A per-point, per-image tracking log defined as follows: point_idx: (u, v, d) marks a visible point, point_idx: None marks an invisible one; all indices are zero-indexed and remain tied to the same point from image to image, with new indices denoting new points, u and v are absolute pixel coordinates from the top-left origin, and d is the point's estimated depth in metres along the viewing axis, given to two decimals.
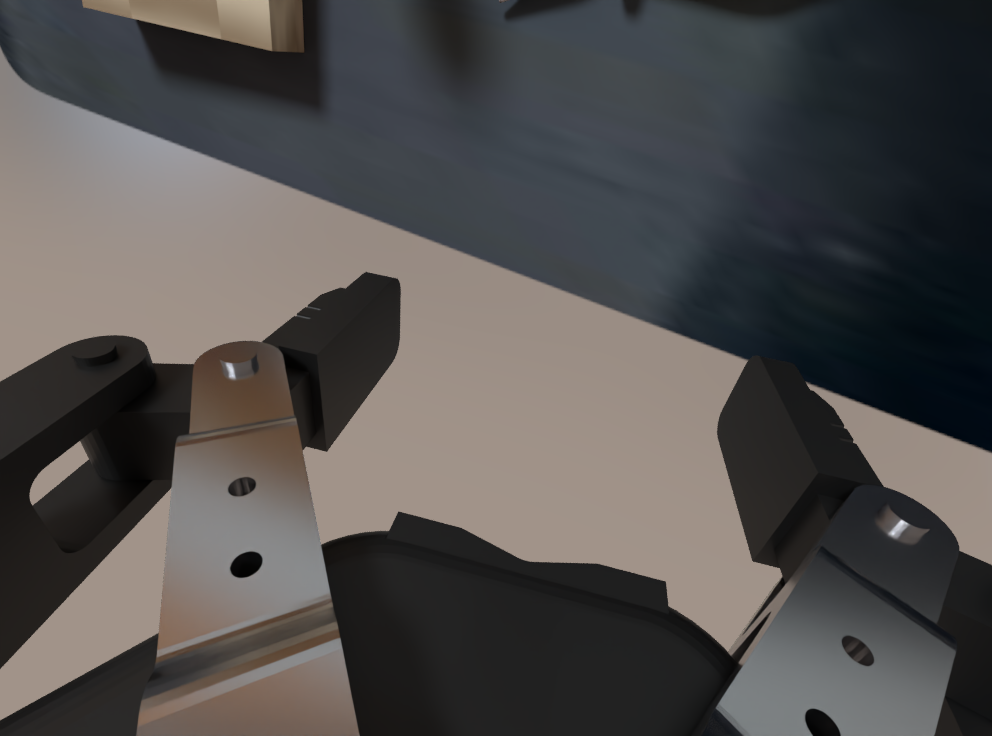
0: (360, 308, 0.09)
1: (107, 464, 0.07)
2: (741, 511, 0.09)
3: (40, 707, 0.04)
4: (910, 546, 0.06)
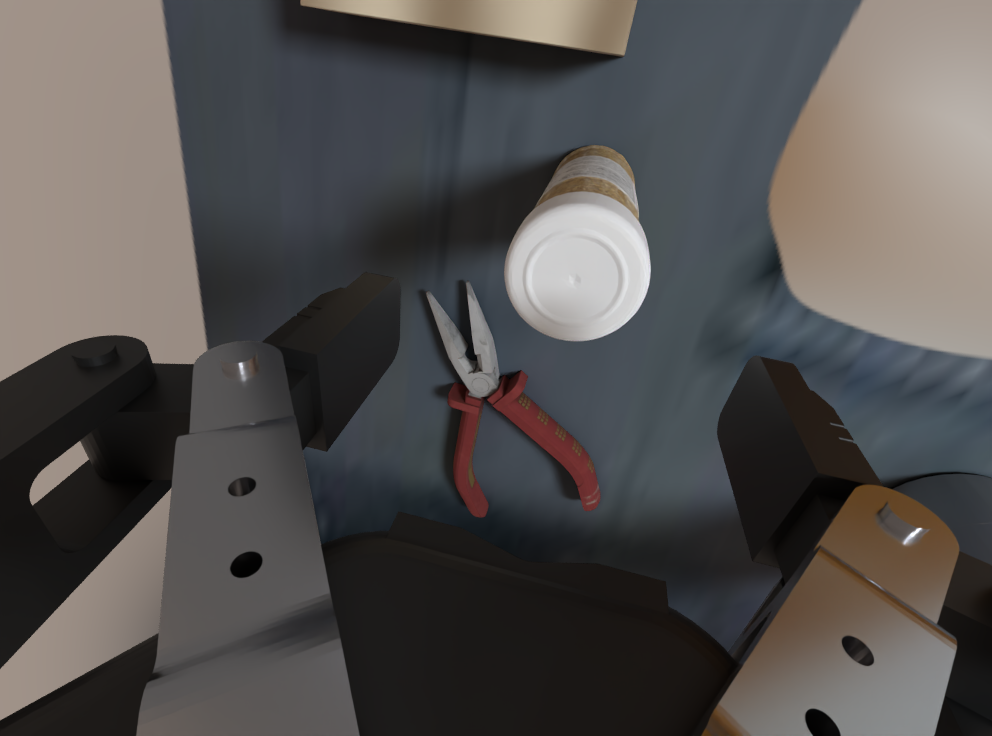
0: (360, 308, 0.09)
1: (107, 464, 0.07)
2: (742, 511, 0.09)
3: (40, 707, 0.04)
4: (910, 546, 0.06)
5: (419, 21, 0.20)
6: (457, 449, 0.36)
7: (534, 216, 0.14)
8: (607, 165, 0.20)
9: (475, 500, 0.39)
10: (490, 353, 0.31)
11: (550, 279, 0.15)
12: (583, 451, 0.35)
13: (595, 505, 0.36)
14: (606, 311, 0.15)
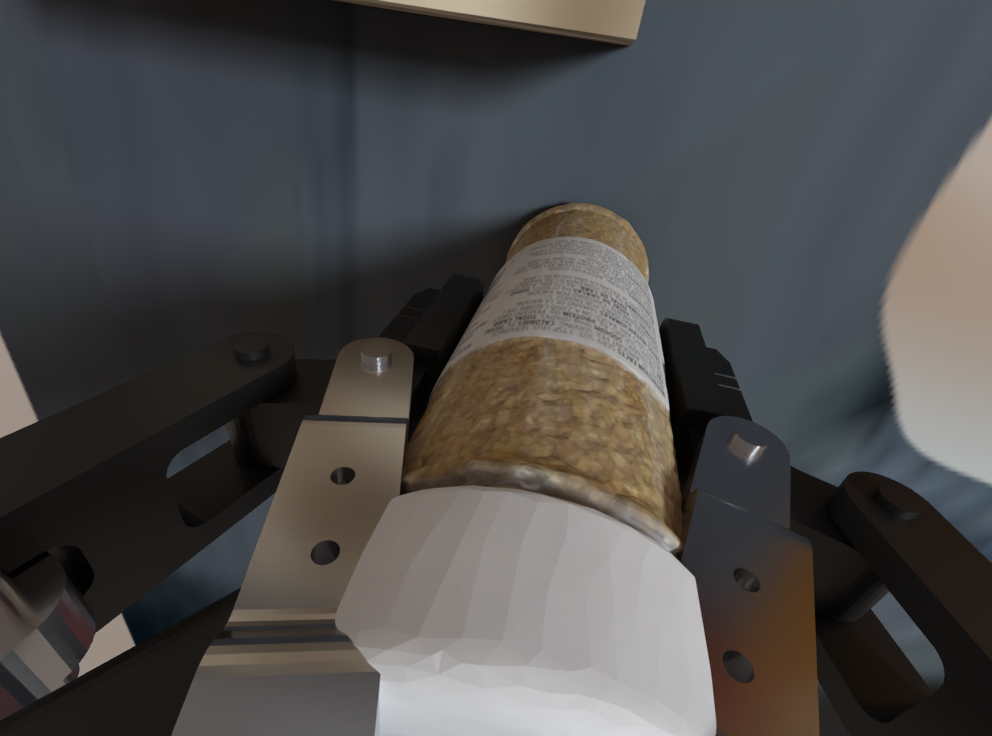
0: (461, 307, 0.10)
1: (241, 449, 0.08)
2: None
3: (40, 707, 0.04)
4: (745, 460, 0.07)
5: None
6: None
7: None
8: (599, 270, 0.10)
9: None
10: None
11: None
12: None
13: None
14: None
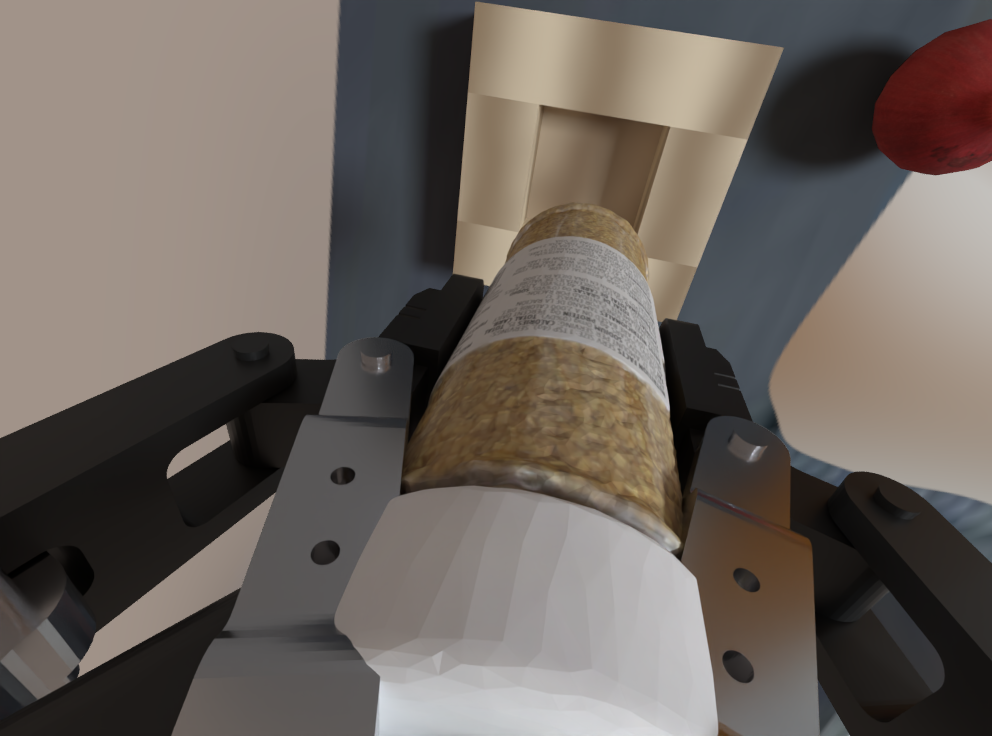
0: (462, 307, 0.10)
1: (241, 449, 0.08)
2: None
3: (40, 707, 0.04)
4: (745, 460, 0.07)
5: None
6: None
7: None
8: (599, 270, 0.10)
9: None
10: None
11: None
12: None
13: None
14: None
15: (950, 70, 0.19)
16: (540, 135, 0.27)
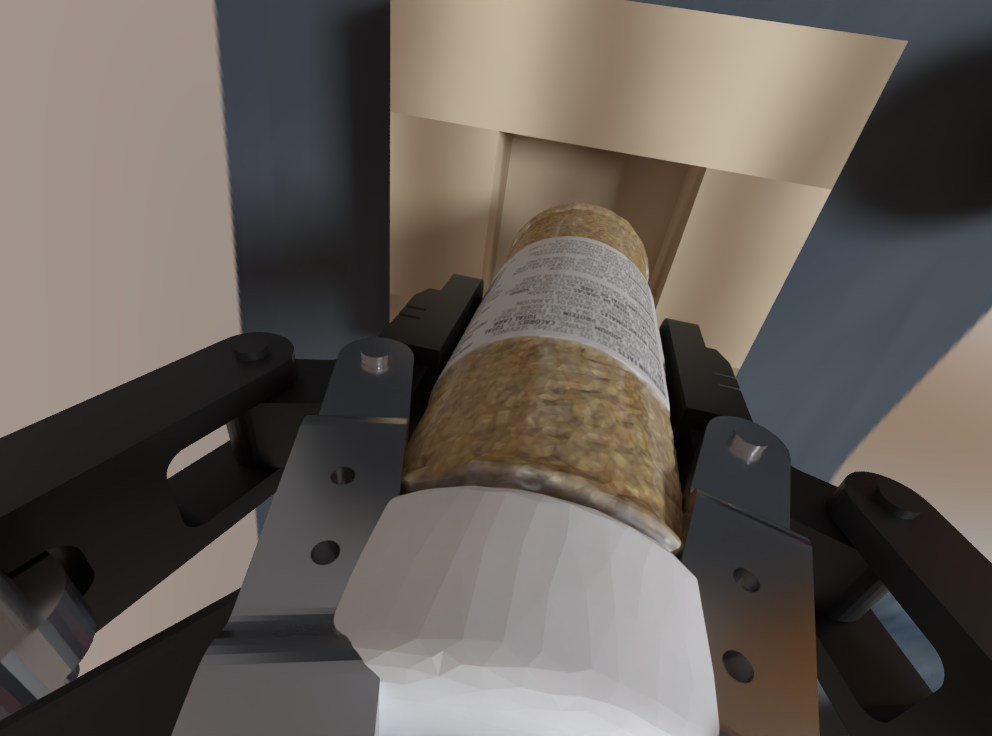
0: (461, 307, 0.10)
1: (241, 449, 0.08)
2: None
3: (40, 707, 0.04)
4: (745, 460, 0.07)
5: None
6: None
7: None
8: (599, 270, 0.10)
9: None
10: None
11: None
12: None
13: None
14: None
15: None
16: (509, 172, 0.19)
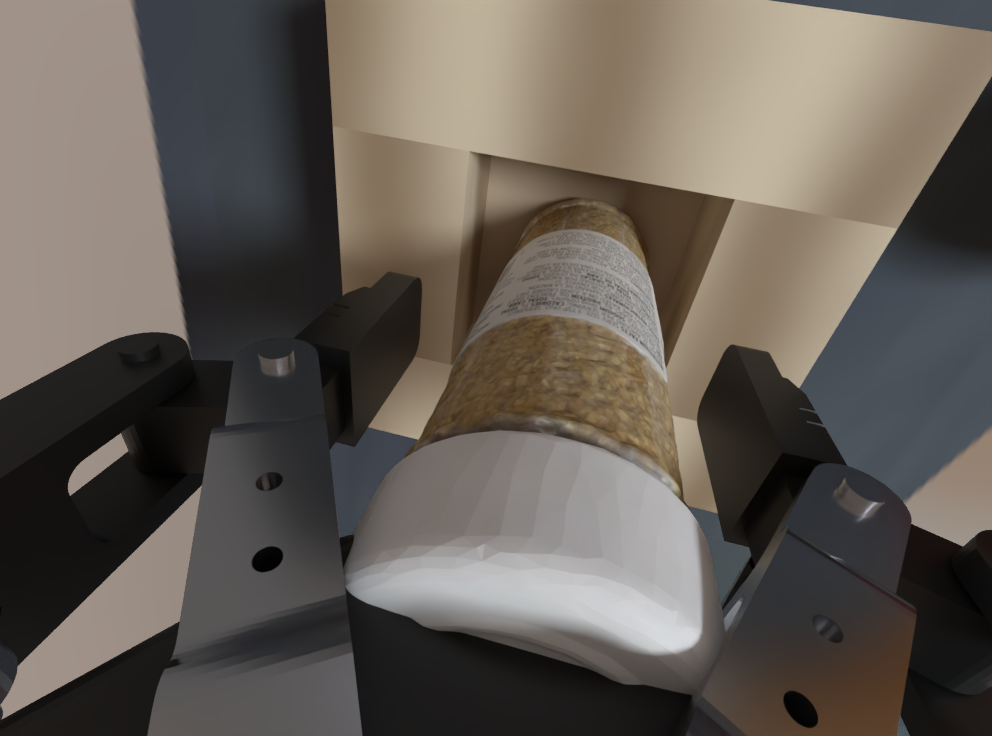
0: (387, 306, 0.09)
1: (144, 457, 0.07)
2: (716, 494, 0.09)
3: (40, 707, 0.04)
4: (864, 519, 0.06)
5: None
6: None
7: (374, 549, 0.04)
8: (604, 259, 0.10)
9: None
10: None
11: None
12: None
13: None
14: None
15: None
16: (487, 196, 0.15)
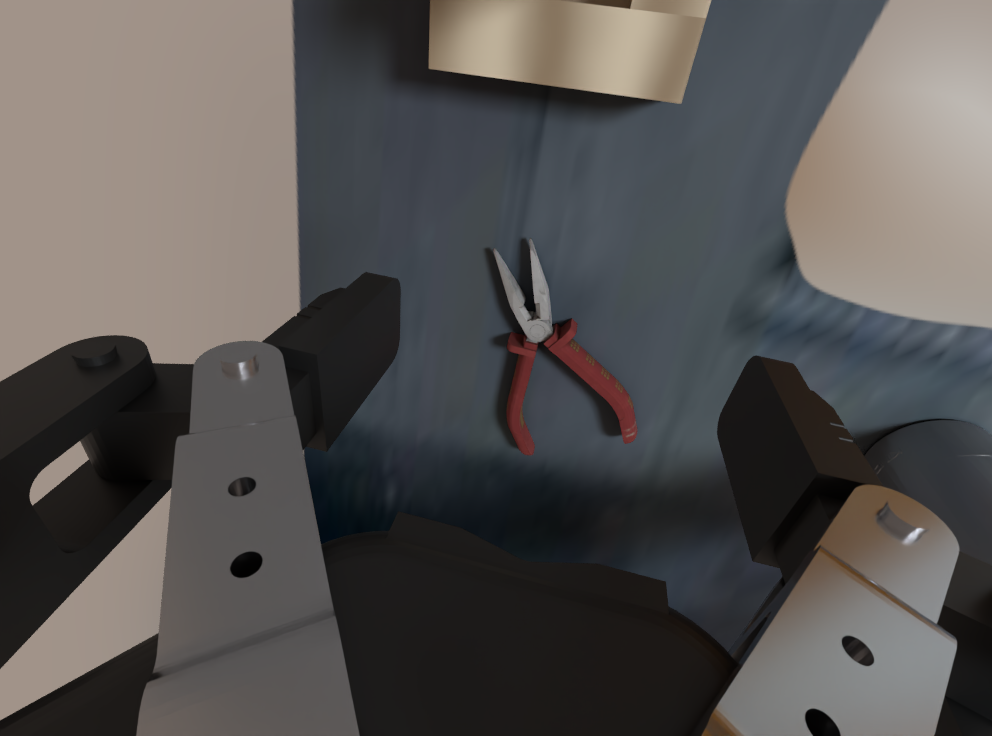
0: (360, 308, 0.09)
1: (107, 464, 0.07)
2: (741, 511, 0.09)
3: (40, 707, 0.04)
4: (910, 546, 0.06)
5: (523, 80, 0.26)
6: (512, 392, 0.41)
7: None
8: None
9: (525, 440, 0.44)
10: (547, 302, 0.36)
11: None
12: (624, 389, 0.40)
13: (633, 437, 0.41)
14: None
15: None
16: None
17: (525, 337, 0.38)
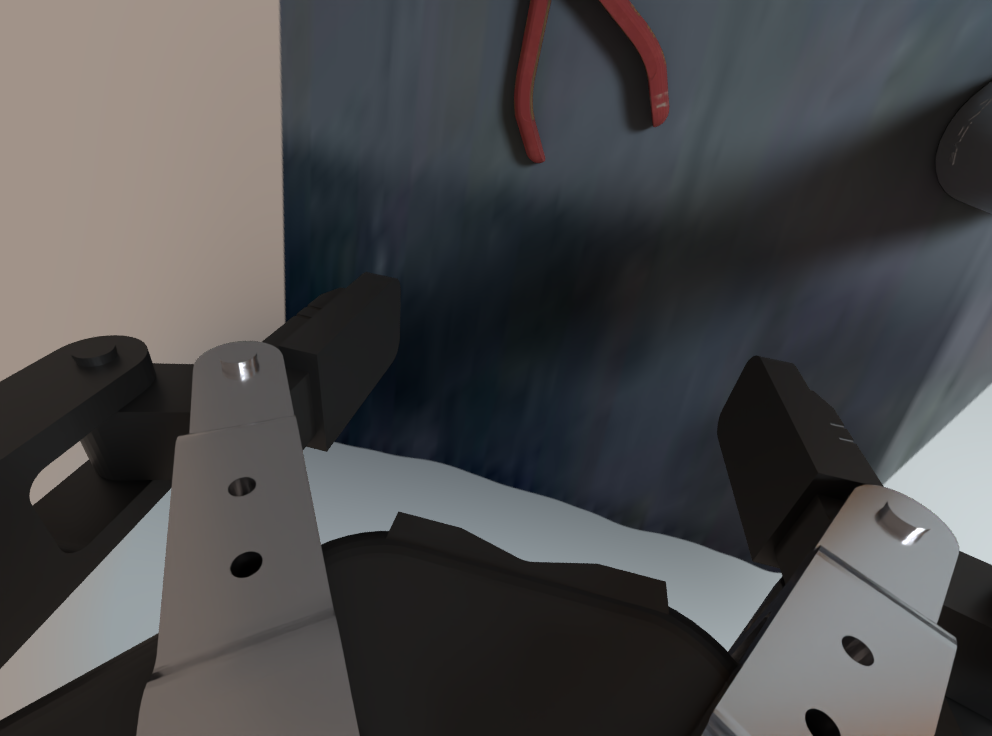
0: (360, 308, 0.09)
1: (107, 464, 0.07)
2: (741, 511, 0.09)
3: (40, 708, 0.04)
4: (910, 546, 0.06)
5: None
6: (522, 51, 0.34)
7: None
8: None
9: (535, 134, 0.37)
10: None
11: None
12: (656, 40, 0.33)
13: (665, 112, 0.35)
14: None
15: None
16: None
17: None
